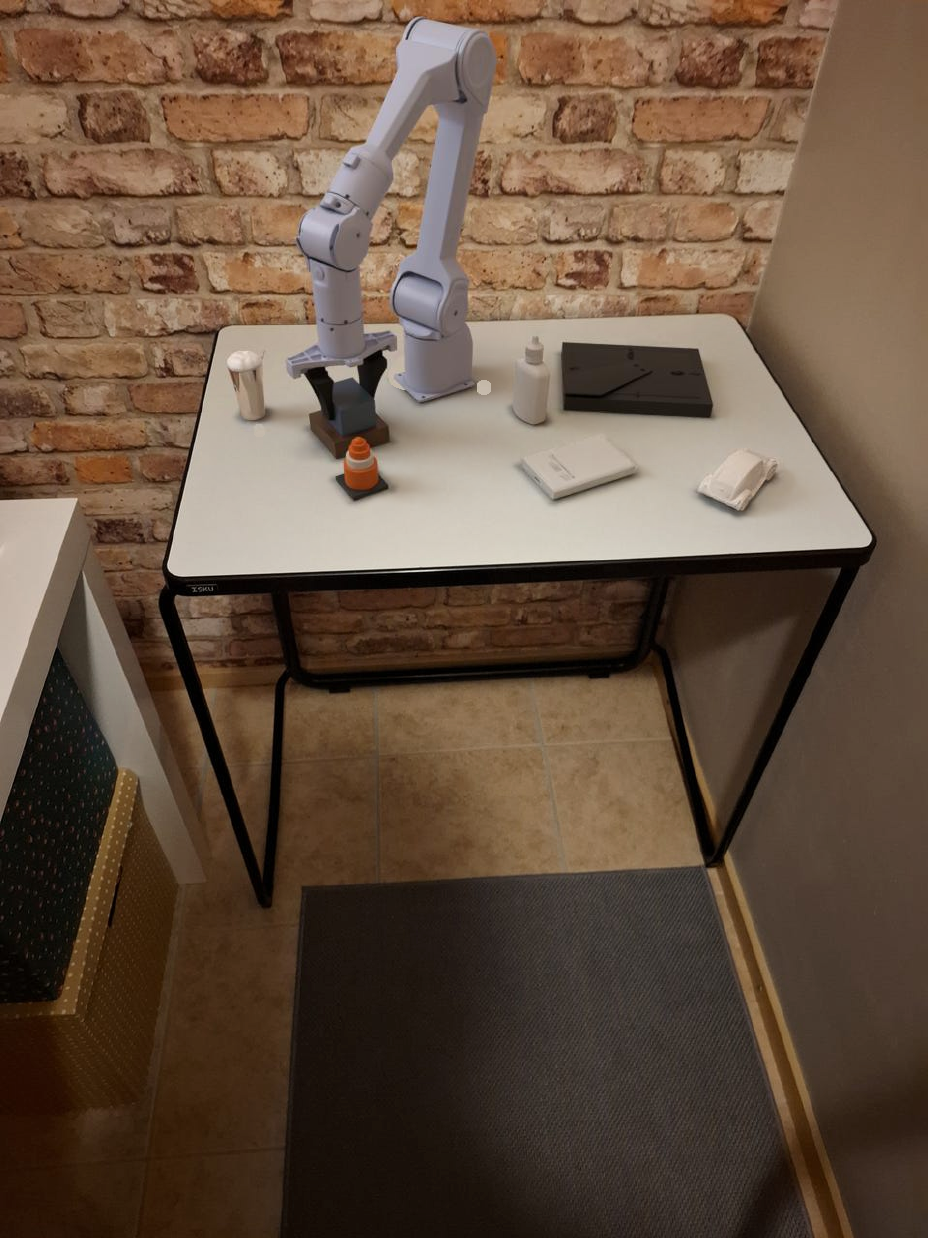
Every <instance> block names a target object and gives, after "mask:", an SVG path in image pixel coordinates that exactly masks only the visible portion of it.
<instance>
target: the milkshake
mask: <svg viewBox="0 0 928 1238" xmlns="http://www.w3.org/2000/svg"><path fill="white" fill-rule="evenodd" d="M265 351H266V350H264V351H263V352H262V355H261V356H260V355H259V354H258V353H256V352H254V351H251V350H237V351H234V352H232V353H231V355H230V356H229V357H228V358H227V361H226V366H227V369H228V373H229V376H230V378H231V379H230V380H231V382H232V386H233V389H234V393H235V396H236V399H237V403H238V407H239V410H240V414H241V417H242V418H243V419H245V420H246V421H257V420H261V419H262V418H264V417H265V416H266V405H265V403H266V402H265V393H264V392H265V391H264V380H263V379H264V378H263V377H264V375H263V374H264V373H263V359H264V355H265V353H266V352H265Z"/></svg>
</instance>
